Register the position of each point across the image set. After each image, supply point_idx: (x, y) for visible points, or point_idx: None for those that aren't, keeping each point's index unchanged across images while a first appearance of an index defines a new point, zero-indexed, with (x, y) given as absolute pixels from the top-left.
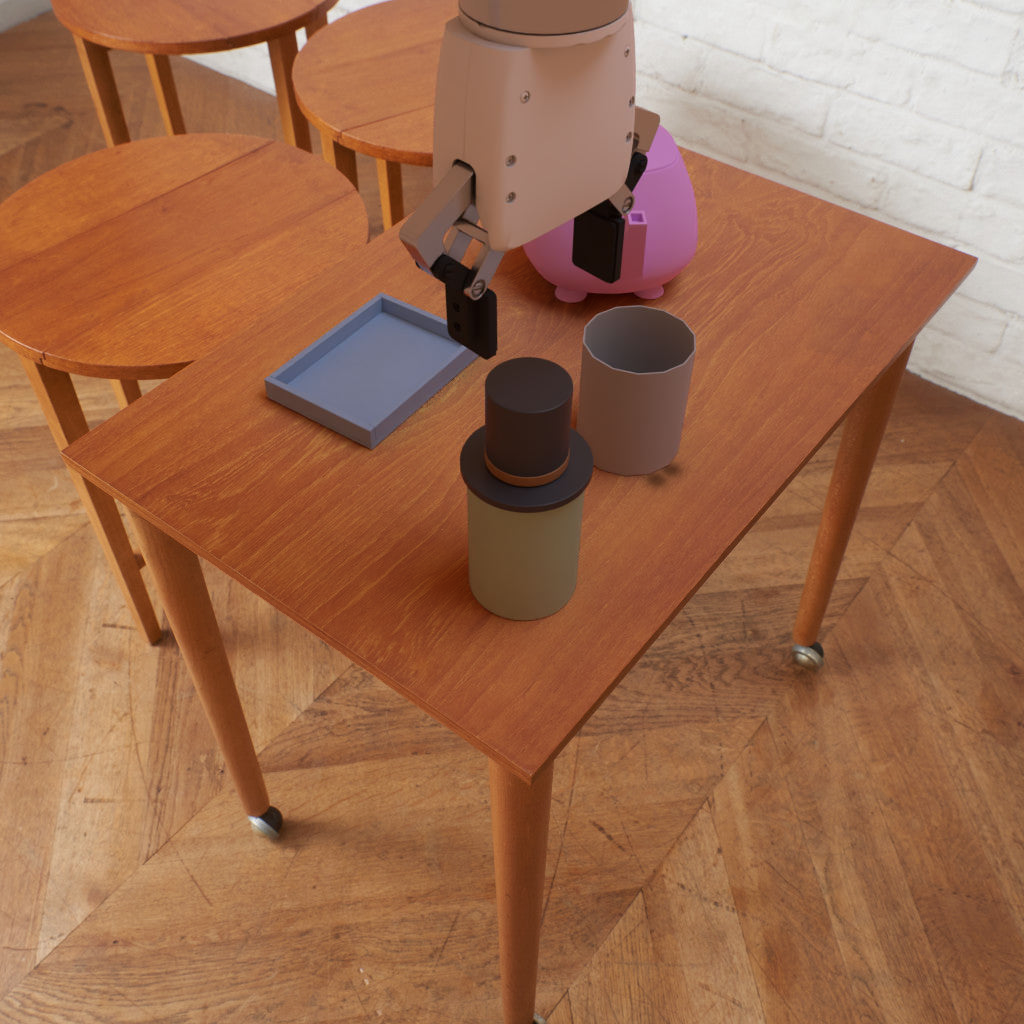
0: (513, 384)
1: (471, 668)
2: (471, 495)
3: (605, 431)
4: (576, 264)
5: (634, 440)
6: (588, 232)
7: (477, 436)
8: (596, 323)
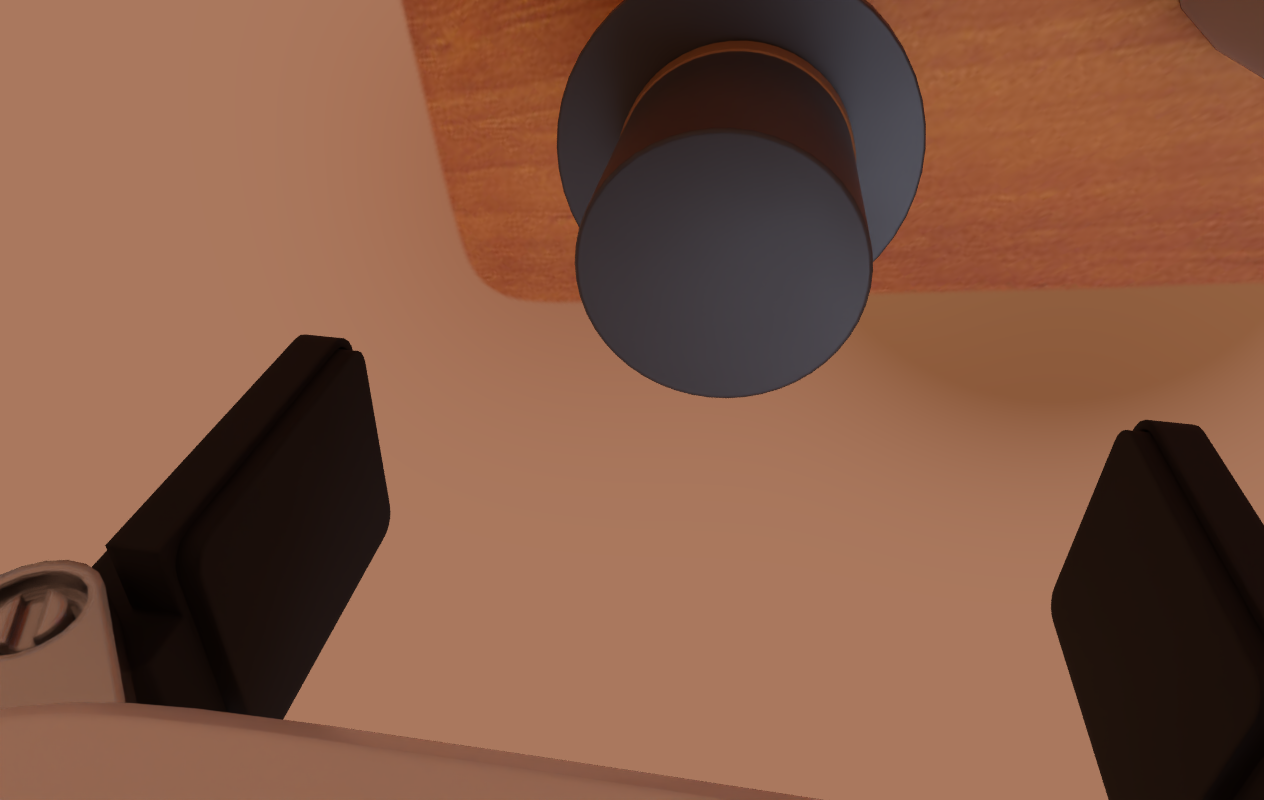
0: (680, 243)
1: (526, 117)
2: None
3: None
4: (1114, 454)
5: (1236, 43)
6: (1163, 668)
7: None
8: None
